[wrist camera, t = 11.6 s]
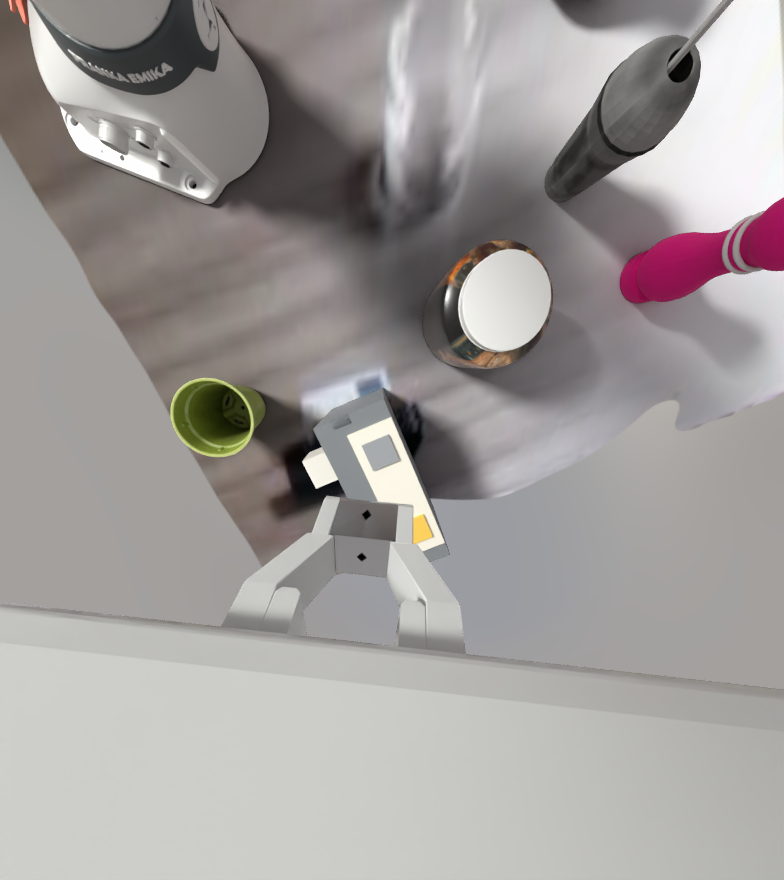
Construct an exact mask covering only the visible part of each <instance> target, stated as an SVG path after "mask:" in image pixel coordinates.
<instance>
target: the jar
mask: <svg viewBox="0 0 784 880" xmlns="http://www.w3.org/2000/svg"><path fill="white" fill-rule="evenodd" d="M552 302H553V293H552V284H551V280H550V277H549V274H548V271H547V269H546V267H545V265H544V263H543V262H542V260H541V259H540V258H539V257H538V255H537V254H536V253H535V252H533V251H532V250H531V249H530V248H528V247H527V246H525V245H523V244H520V243H518V242H515V241H511V240H493V241H489V242H485V243H483V244H480V245H478V246H476V247H475V248H473V249H471V250H470V251H468V252H467V253H465V254H464V255H463V256H462V257H461V258H460V259H459V260H458V261H457V262H456V263H455V264H454V265H453V266H452V267H451V268H450V270H449V271H448V272H447V273H446V274H445V276H444V277H443V278H442V279H441V281H440V282H439V283H438V285H437V286H436V287H435V289H434V290H433V292H432V293H431V295H430V296H429V298H428V300H427V303H426V305H425V308H424V312H423V319H422V327H423V334H424V338H425V341H426V343H427V345H428V347H429V349H430V350H431V352H432V353H433V354H434V355H435V356H436V357H437V358H438V359H439V360H441V361H442V362H444V363H446V364H448V365H451V366H455V367H463V368H475V369H491V368H499V367H503V366H506V365H509V364H511V363H513V362H515V361H517V360H519V359H520V358H522V357H523V356H525V355H526V354H527V353H528V352H529V351H530V350H531V349H532V348H533V347H534V346H535V345H536V344H537V342H538V341H539V339H540V338H541V336H542V335H543V333H544V331H545V329H546V327H547V324H548V322H549V318H550V315H551V310H552Z"/></svg>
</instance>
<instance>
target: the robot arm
mask: <svg viewBox="0 0 784 880" xmlns="http://www.w3.org/2000/svg"><path fill="white" fill-rule="evenodd" d="M9 4H10V8H11V11H12V12H13V13H16V4H17V6H18V9H19V11H20V14H21V17H22V19H23V22H24V23H25V24H26V25H29V26H30V34H31V40H32V45H33V50H34V54H35V58H36V62H37V65H38V68H39V71H40V74H41V76H42V78H43V81H44V83H45V85H46V87H47V89H48V91H49V92H50V94H51V95H52V97H53V98H54V100H55V101H56V102H57V103H58V105H59V106H60V108H61V111H62V115H63V118H64V121H65V123H66V126H67V128H68V130H69V133H70V135H71V137H72V138H73V140H74V142H75V144H76V145H77V147H78V148H79V149H80V150H81V151H82V152H83V153H84V154H85V155H86V156H88V157H90V158H91V159H94V160H96V161H98V162H101V163H103V164H106V165H108V166H111V167H113V168H116V169H118V170H121V171H124V172H126V173H129V174H131V175H134V176H136V177H139V178H141V179H144V180H146V181H149V182H151V183H154V184H156V185H159V186H161V187H164V188H166V189H169V190H171V191H174V192H176V193H179V194H182V195H184V196H187V197H189V198H192V199H194V200H197V201H199V202H202V203H205V204H211V203H213V202H214V201H215V200H216V199H217V198H218V197H219V195H220V194H221V192H222V191H223V189H224V187H225V186H226V185H227V184H228V183H229V182H231V181H232V180H234V179H236V178H238V177H239V176H241V175H243V174H244V173H245V172H246V171H248V170H249V169H250V168H251V167H252V166H253V164H254V163H255V162H256V160H257V159H258V157H259V156H260V154H261V152H262V150H263V147H264V144H265V141H266V138H267V133H268V126H269V108H268V101H267V96H266V91H265V88H264V85H263V82H262V79H261V77H260V75H259V73H258V71H257V69H256V67H255V65H254V64H253V62H252V60H251V59H250V58H249V56H248V55H247V54H246V52H245V51H244V50H243V49H242V47H241V46H240V45H239V43H238V42H237V41H236V39H235V38H234V36H233V35H232V33H231V32H230V30H229V29H228V27H227V26H226V24H225V23H224V21H223V20H222V18H221V17H220V15H219V13H218V12H217V10H216V8H215V6H214V5H213V3H212V1H211V0H28V7H27V0H9ZM77 122H78V125H77V126H76V124H77ZM194 184H197V187H196V188H195V189H193V185H194ZM413 510H414V507H413V505H410V504H399V503H388V502H377V501H365V500H358V499H350V498H342V497H341V498H339V497H332V496H326V498H325V499H324V501H323V504H322V507H321V509H320V512H319V515H318V518H317V520H316V523H315V526H314V528H313V531H312V533H307V534H305V535H304V536H303V537H301V538H300V539H299V540H297V541H296V542H295V543H294V544H292V545H291V546H290V547H288V548H287V549H286V550H284V551H283V552H282V553H280V554H279V555H278V556H277V557H275V558H274V559H273V560H271V561H270V562H269V563H267V564H266V565H265V566H264V567H262V568H261V569H260V570H258V571H257V572H256V573H254V574H253V575H252V576H251V577H249V578H248V579H247V580H245V582H244V583H243V585H242V587H241V589H240V591H239V593H238V595H237V597H236V599H235V601H234V603H233V605H232V607H231V609H230V611H229V612H228V614H227V616H226V618H225V620H224V622H223V624H222V626H221V627H219V626H210V625H201V624H192V623H183V622H174V621H165V620H156V619H147V618H138V617H129V616H121V615H112V614H103V613H93V612H84V611H76V610H67V609H58V608H49V607H40V606H31V605H22V604H13V603H4V602H0V880H784V689H775V688H765V687H757V686H748V685H739V684H730V683H720V682H712V681H703V680H694V679H685V678H676V677H667V676H658V675H649V674H640V673H631V672H622V671H613V670H604V669H595V668H587V667H578V666H568V665H559V664H550V663H541V662H533V661H524V660H515V659H506V658H496V657H487V656H479V655H469V654H466V652H465V644H464V636H463V627H462V619H461V611H460V604H459V603H458V602H457V600H456V599H455V597H454V596H453V594H452V593H451V592H450V590H449V589H448V587H447V586H446V585H445V583H444V582H443V580H442V579H441V578H440V576H439V574H438V573H437V572H436V570H435V569H434V567H433V566H432V564H431V563H430V562H429V560H428V559H427V557H426V556H425V554H424V553H423V552H422V550H421V549H420V547H419V546H418V545H417V544H413ZM336 573H348V574H360V575H368V576H376V577H383V578H387V581H388V584H389V586H390V588H391V590H392V592H393V594H394V596H395V598H396V601H397V603H398V605H399V607H400V612H399V618H398V624H397V630H396V636H395V642H394V646H389V645H381V644H372V643H362V642H354V641H345V640H336V639H327V638H318V637H309V636H307V632H306V626H305V620H304V613H303V610H304V609H305V608H306V607H307V606H308V605H309V604H310V602H311V601H312V600H313V599H314V598H315V597H316V596H317V595H318V593H319V592H320V591H321V590H322V589H323V588H324V587H325V585H326V584H327V583H328V582H329V581H330V580H331V579H332V578H333V577H334V575H335V574H336Z"/></svg>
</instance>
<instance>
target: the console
mask: <svg viewBox="0 0 784 880" xmlns="http://www.w3.org/2000/svg"><path fill="white" fill-rule="evenodd" d="M313 430H314V432H315V434H316V436H317V438H318V440H319V442H320V444H321V446H322V448H323V450H324V452H325V454H326V456H327V458H328V460H329V462H330V464H331V466H332V468H333V470H334V472H335V474H336V476H337V478H338V480H339V482H340V484H341V486H342V488H343V490H344V492H345V494H346V496H347V498H350V499H358V500H365V501H377V502H388V503H399V504H410V505H413V507H414V510H413V544H417V545H418V546H419V547H420V549H421V550H422V552H423V553H424V554H425V556H426V557H427V559H428V560H429V562H431V561H434V560H437V559H439V558H442V557H445V556H447V555H450V553H449V550H448V547H447V544H446V542H445V539H444V536H443V533H442V530H441V528H440V525H439V522H438V519H437V516H436V514H435V511H434V508H433V505H432V503H431V500H430V498H429V495H428V493H427V491H426V488H425V486H424V484H423V481H422V479H421V477H420V474H419V472H418V469H417V467H416V465H415V462H414V460H413V458H412V455H411V453H410V451H409V448H408V446H407V443H406V441H405V439H404V436H403V434H402V432H401V429H400V427H399V425H398V422H397V420H396V418H395V415H394V413H393V410H392V408H391V406H390V403H389V401H388V399H387V396H386V394H385V392H384V389H383V388H381V389H378V390H376V391H374V392H371V393H369V394H367V395H364V396H362V397H360V398H357V399H355V400H353V401H350V402H348V403H346V404H343V405H341V406H339V407H336V408H334V409H332V410H331V411H330V412H329V413H328V414H327V415H326V416H325V417H324V418H323V419H322V420H321V421H320V422H319V423H318V424H317V425H316V426H315V427H314V428H313Z"/></svg>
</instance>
